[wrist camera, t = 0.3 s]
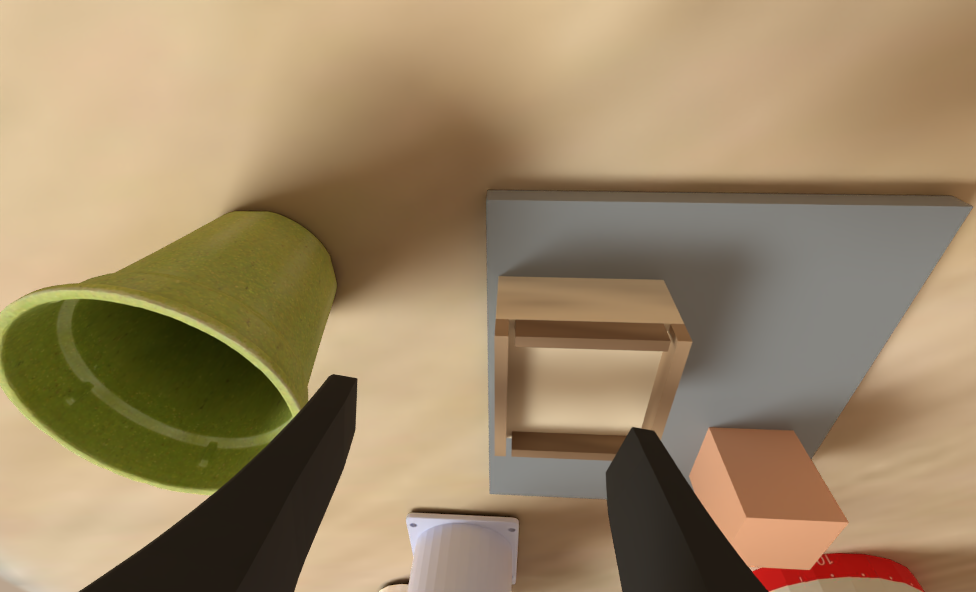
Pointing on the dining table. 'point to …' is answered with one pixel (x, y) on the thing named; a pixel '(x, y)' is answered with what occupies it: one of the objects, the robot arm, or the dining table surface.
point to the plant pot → (176, 352)
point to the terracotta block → (766, 497)
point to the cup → (395, 588)
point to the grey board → (727, 300)
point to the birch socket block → (583, 364)
